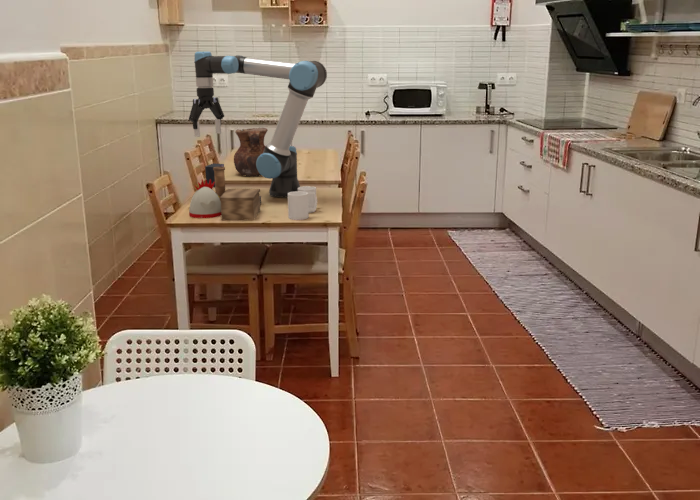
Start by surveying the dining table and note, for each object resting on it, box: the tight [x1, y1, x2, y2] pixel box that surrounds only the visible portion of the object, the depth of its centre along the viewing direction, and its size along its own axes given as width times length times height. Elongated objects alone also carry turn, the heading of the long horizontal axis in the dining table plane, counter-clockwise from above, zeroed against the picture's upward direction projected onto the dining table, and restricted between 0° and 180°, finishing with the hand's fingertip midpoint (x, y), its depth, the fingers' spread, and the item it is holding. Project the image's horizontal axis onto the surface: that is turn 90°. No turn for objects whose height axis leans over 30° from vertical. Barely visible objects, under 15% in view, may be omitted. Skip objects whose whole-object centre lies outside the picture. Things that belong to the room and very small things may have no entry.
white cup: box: [298, 185, 317, 214], centre depth 292 cm, size 8×8×10 cm
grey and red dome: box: [188, 178, 222, 219], centre depth 288 cm, size 14×14×15 cm
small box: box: [204, 163, 225, 188], centre depth 352 cm, size 11×6×10 cm, turn 168°
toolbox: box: [220, 188, 262, 221], centre depth 294 cm, size 14×33×9 cm, turn 179°
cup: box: [287, 191, 318, 221], centre depth 282 cm, size 8×12×10 cm
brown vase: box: [233, 127, 268, 177], centre depth 379 cm, size 22×21×25 cm
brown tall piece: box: [213, 166, 226, 199], centre depth 309 cm, size 5×5×16 cm
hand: (208, 135), depth 317 cm, fingers open, 13 cm apart
